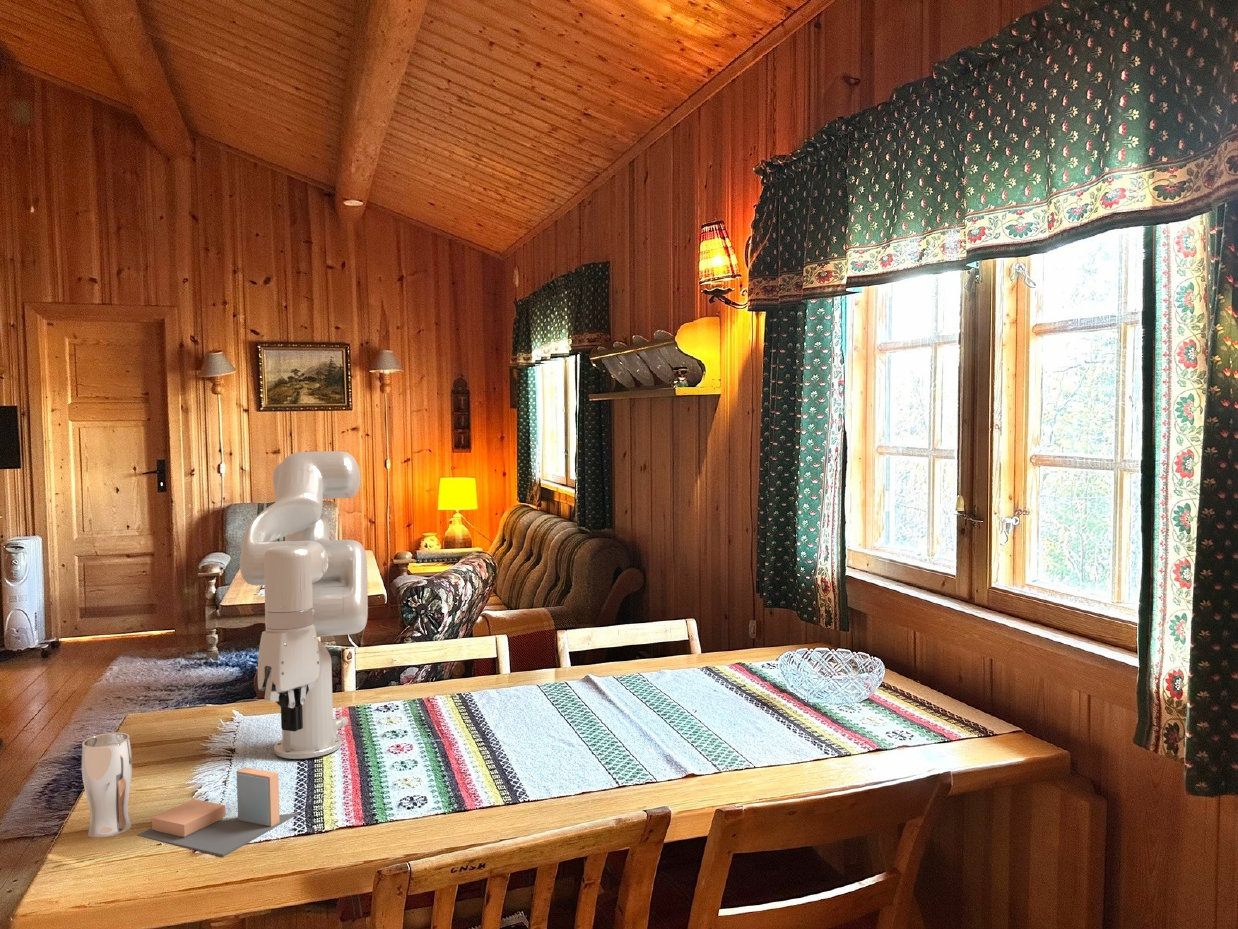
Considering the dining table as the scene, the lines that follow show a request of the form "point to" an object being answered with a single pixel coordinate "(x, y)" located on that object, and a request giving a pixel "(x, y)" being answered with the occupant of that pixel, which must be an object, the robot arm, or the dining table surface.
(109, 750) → the beer glass
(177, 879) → the dining table surface
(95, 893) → the dining table surface
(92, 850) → the dining table surface
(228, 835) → the rubber mat
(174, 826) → the terracotta tile
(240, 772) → the peach flat block
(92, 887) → the dining table surface
